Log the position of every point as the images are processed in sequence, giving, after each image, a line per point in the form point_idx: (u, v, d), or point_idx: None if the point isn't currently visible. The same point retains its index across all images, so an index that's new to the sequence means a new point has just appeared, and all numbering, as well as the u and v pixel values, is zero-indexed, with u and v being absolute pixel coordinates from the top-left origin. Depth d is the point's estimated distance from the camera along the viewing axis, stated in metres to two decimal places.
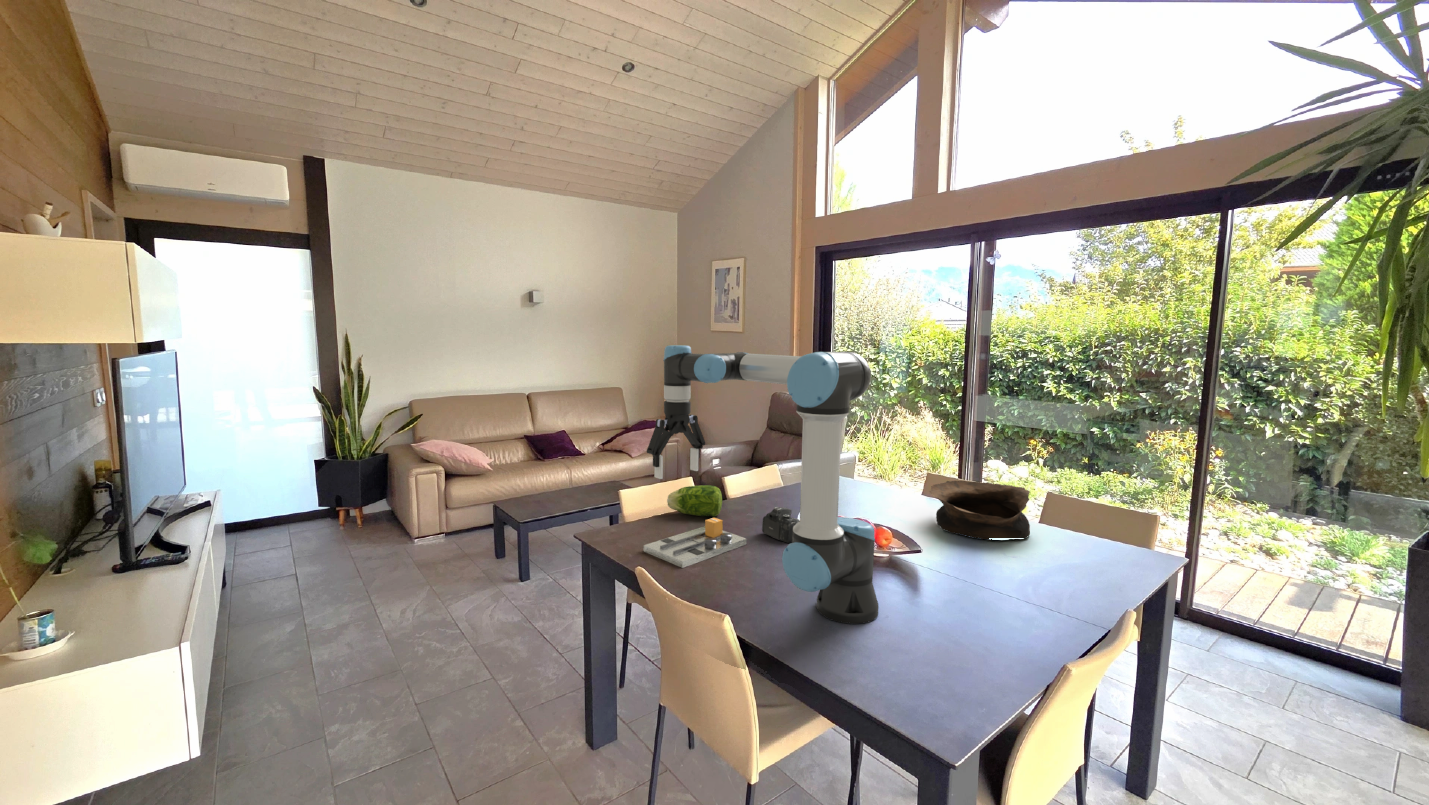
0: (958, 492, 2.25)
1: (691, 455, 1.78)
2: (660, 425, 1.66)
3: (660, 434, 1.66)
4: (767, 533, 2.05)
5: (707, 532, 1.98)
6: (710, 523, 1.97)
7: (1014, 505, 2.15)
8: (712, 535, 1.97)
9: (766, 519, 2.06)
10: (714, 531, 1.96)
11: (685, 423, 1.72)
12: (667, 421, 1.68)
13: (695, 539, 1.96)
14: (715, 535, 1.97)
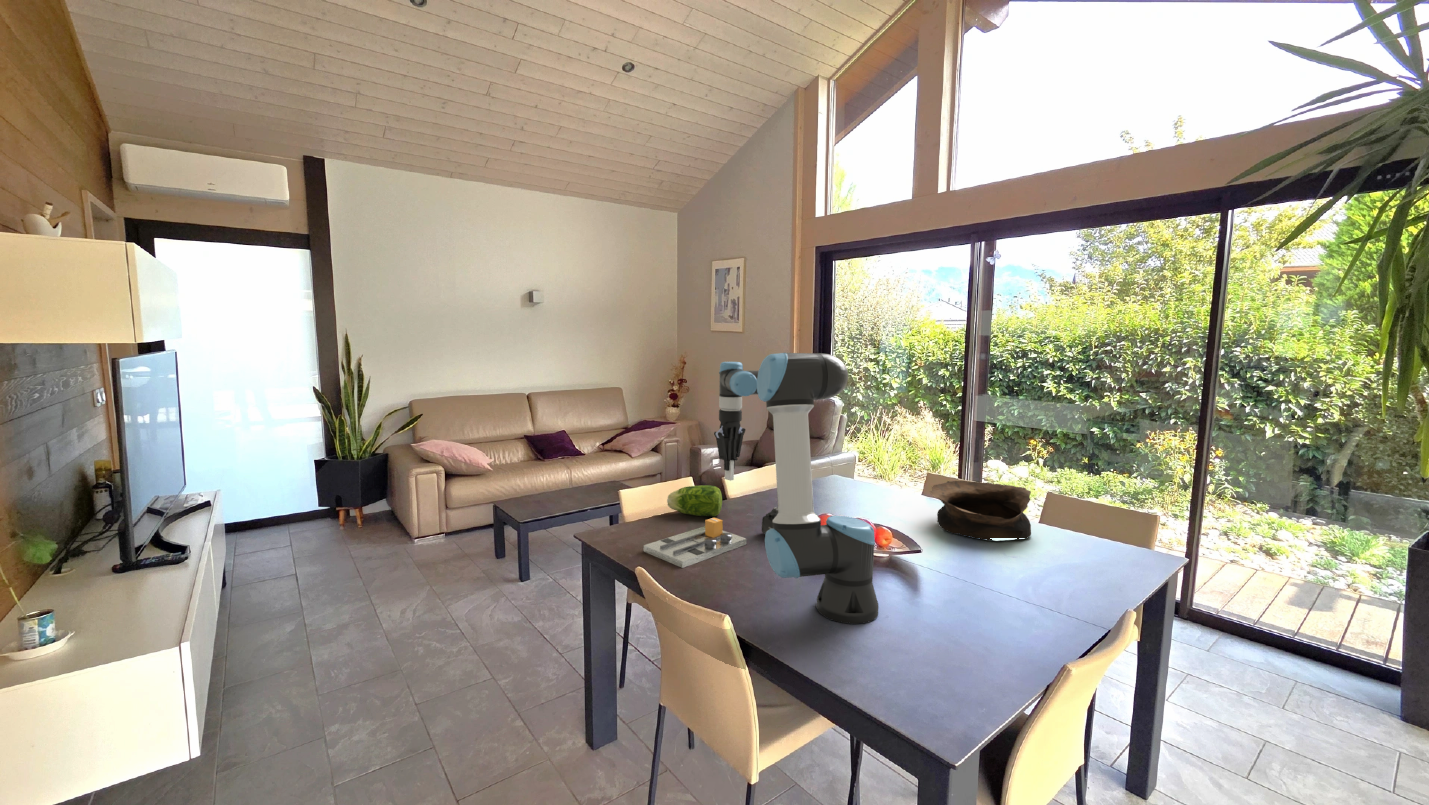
0: (959, 492, 2.25)
1: None
2: (719, 437, 1.95)
3: (723, 443, 1.96)
4: None
5: (707, 532, 1.98)
6: (710, 523, 1.97)
7: (1015, 505, 2.14)
8: (712, 535, 1.97)
9: (765, 519, 2.06)
10: (714, 531, 1.96)
11: (737, 429, 1.99)
12: (722, 429, 1.96)
13: (695, 539, 1.96)
14: (715, 535, 1.97)
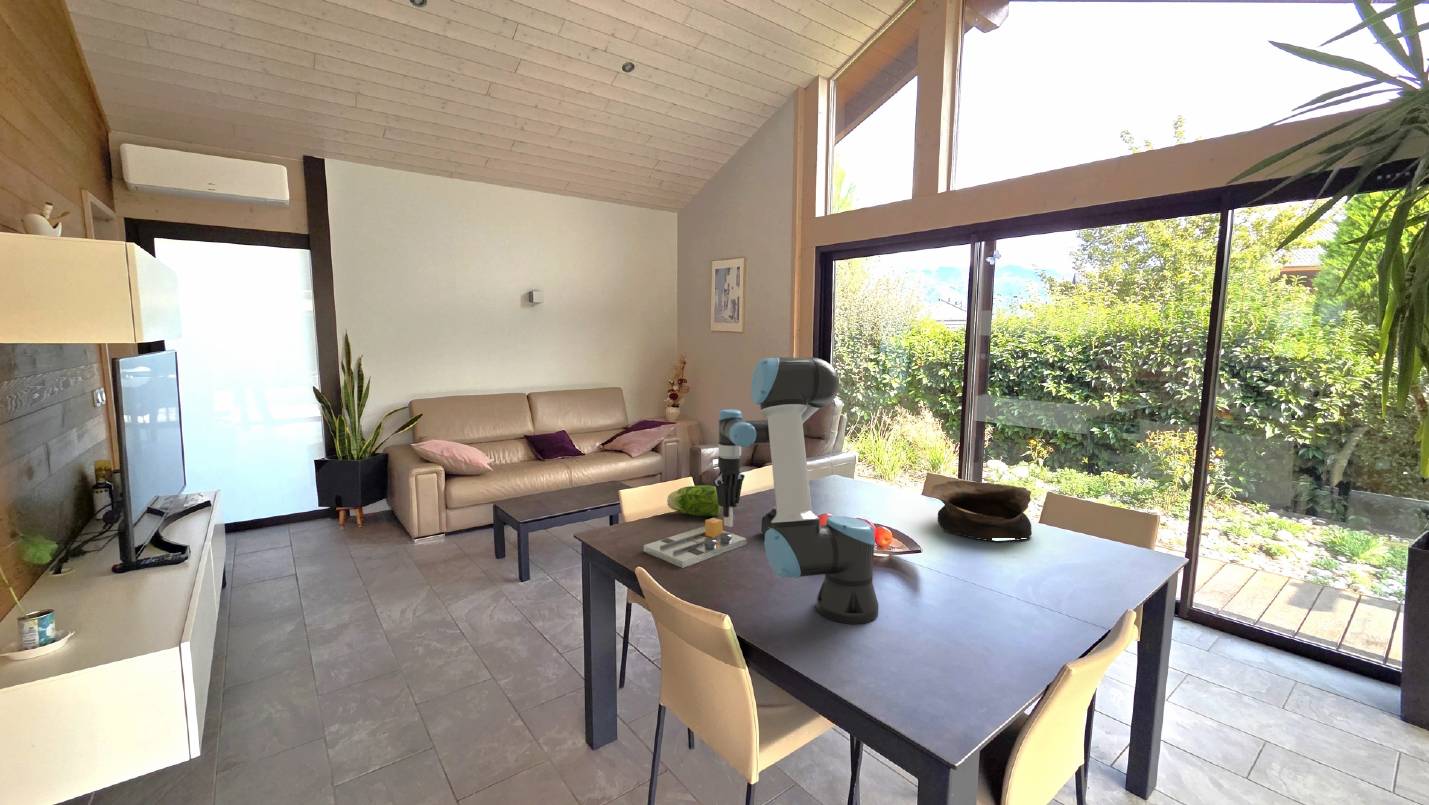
0: (959, 492, 2.24)
1: None
2: (719, 485, 1.97)
3: (722, 491, 1.98)
4: None
5: (707, 532, 1.98)
6: (710, 523, 1.97)
7: (1015, 505, 2.14)
8: (712, 535, 1.97)
9: (765, 519, 2.06)
10: (714, 531, 1.96)
11: (736, 476, 2.01)
12: (722, 477, 1.98)
13: (695, 539, 1.96)
14: (715, 535, 1.97)
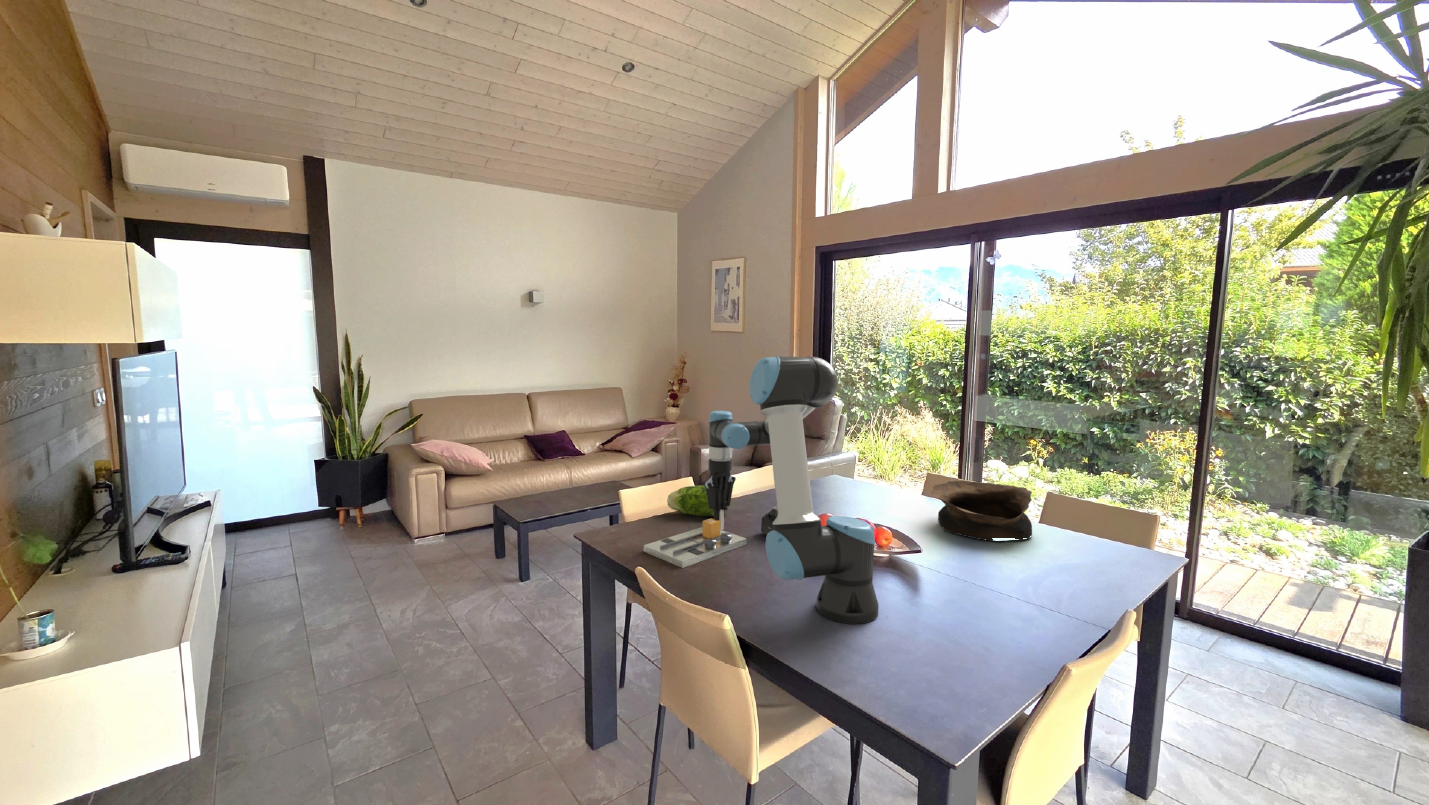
0: (960, 492, 2.24)
1: None
2: (709, 488, 1.94)
3: (713, 493, 1.95)
4: (766, 533, 2.05)
5: (704, 533, 1.97)
6: (707, 524, 1.96)
7: (1016, 505, 2.14)
8: (709, 536, 1.96)
9: (765, 519, 2.06)
10: (711, 532, 1.95)
11: (727, 478, 1.98)
12: (712, 480, 1.95)
13: (695, 539, 1.96)
14: (712, 536, 1.96)
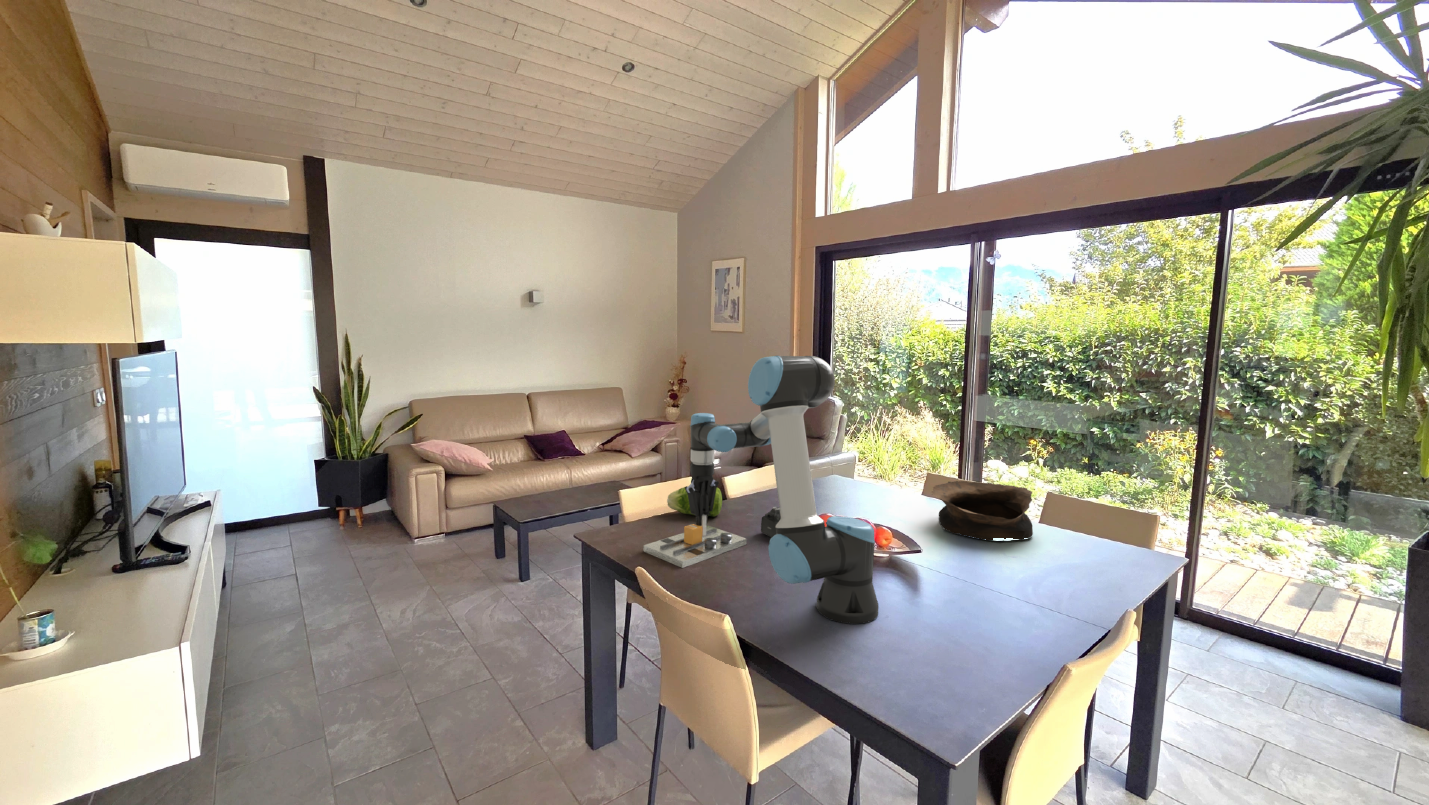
0: (960, 492, 2.24)
1: None
2: (690, 492, 1.88)
3: (694, 498, 1.89)
4: (765, 533, 2.05)
5: (686, 539, 1.92)
6: (689, 530, 1.90)
7: (1016, 505, 2.14)
8: (691, 542, 1.90)
9: (765, 519, 2.06)
10: (693, 538, 1.89)
11: (709, 483, 1.92)
12: (694, 484, 1.89)
13: None
14: (694, 542, 1.90)
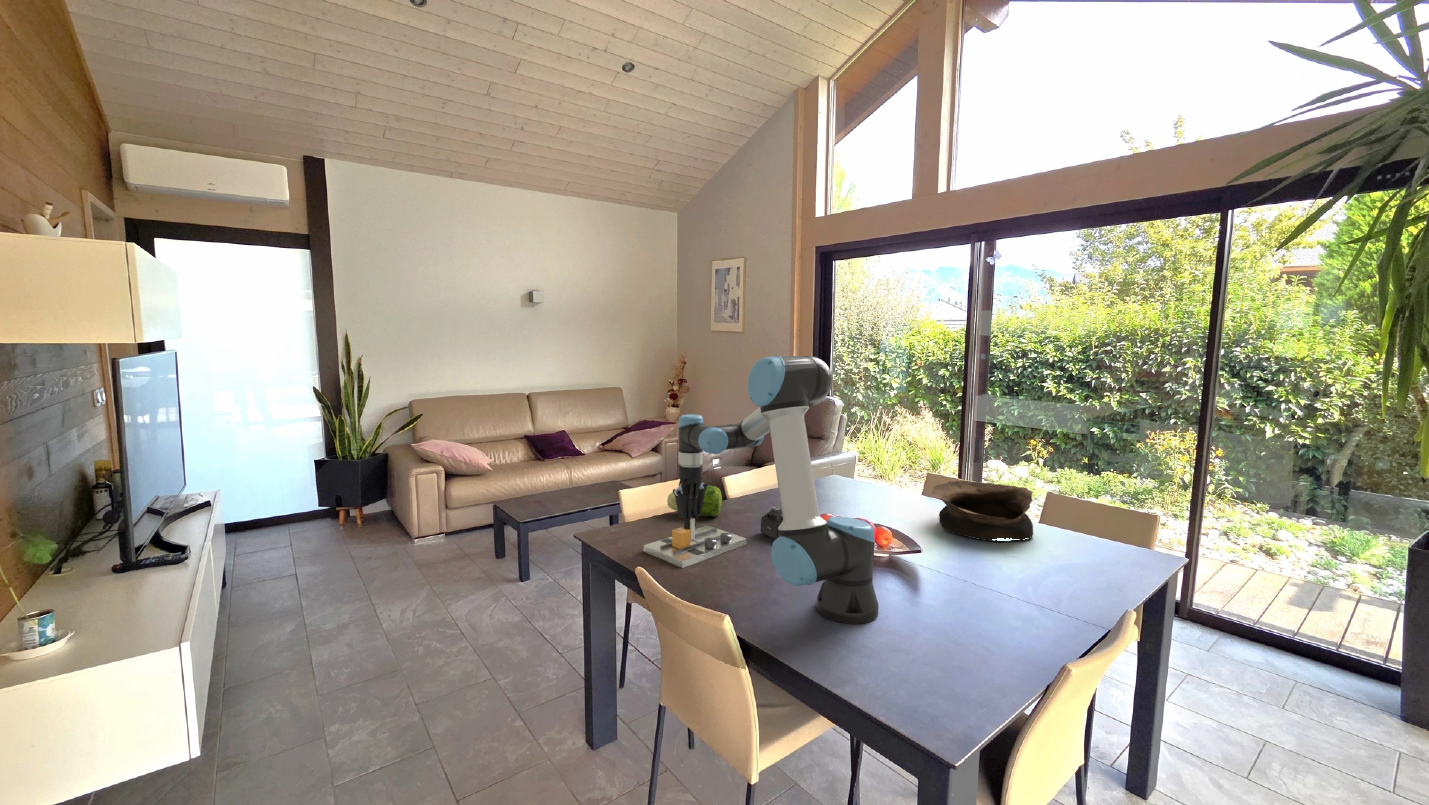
0: (961, 492, 2.24)
1: None
2: (678, 495, 1.85)
3: (682, 501, 1.86)
4: (765, 533, 2.05)
5: (674, 542, 1.88)
6: (677, 533, 1.87)
7: (1017, 505, 2.14)
8: (679, 546, 1.86)
9: (764, 519, 2.06)
10: (681, 542, 1.86)
11: (697, 485, 1.89)
12: (682, 487, 1.86)
13: (695, 539, 1.96)
14: (682, 546, 1.86)
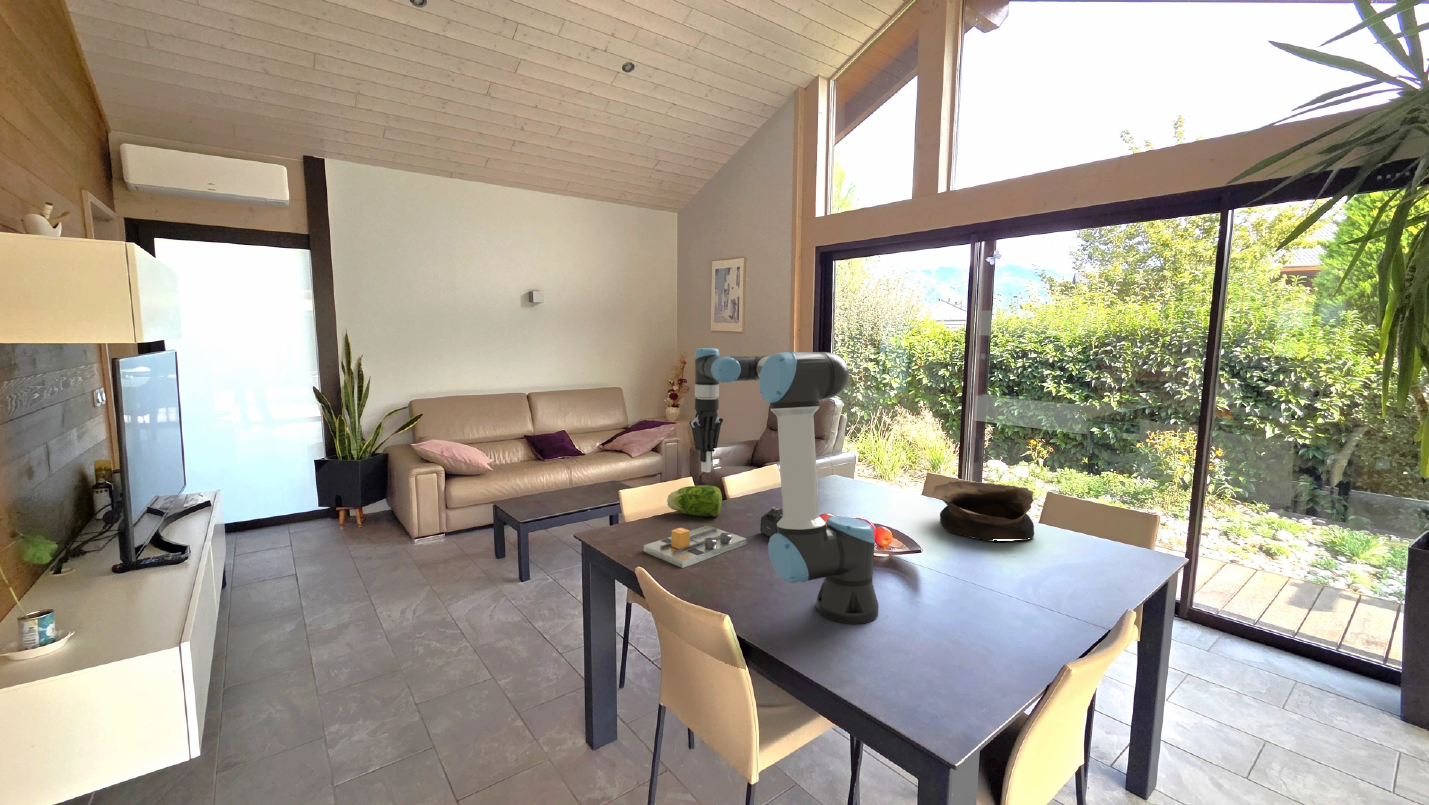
0: (961, 493, 2.24)
1: None
2: (695, 427, 1.87)
3: (699, 433, 1.88)
4: (765, 533, 2.05)
5: (673, 543, 1.88)
6: (676, 534, 1.86)
7: (1017, 505, 2.14)
8: (678, 546, 1.86)
9: (764, 519, 2.06)
10: (680, 542, 1.86)
11: (713, 418, 1.91)
12: (698, 419, 1.88)
13: (695, 539, 1.96)
14: (681, 546, 1.86)
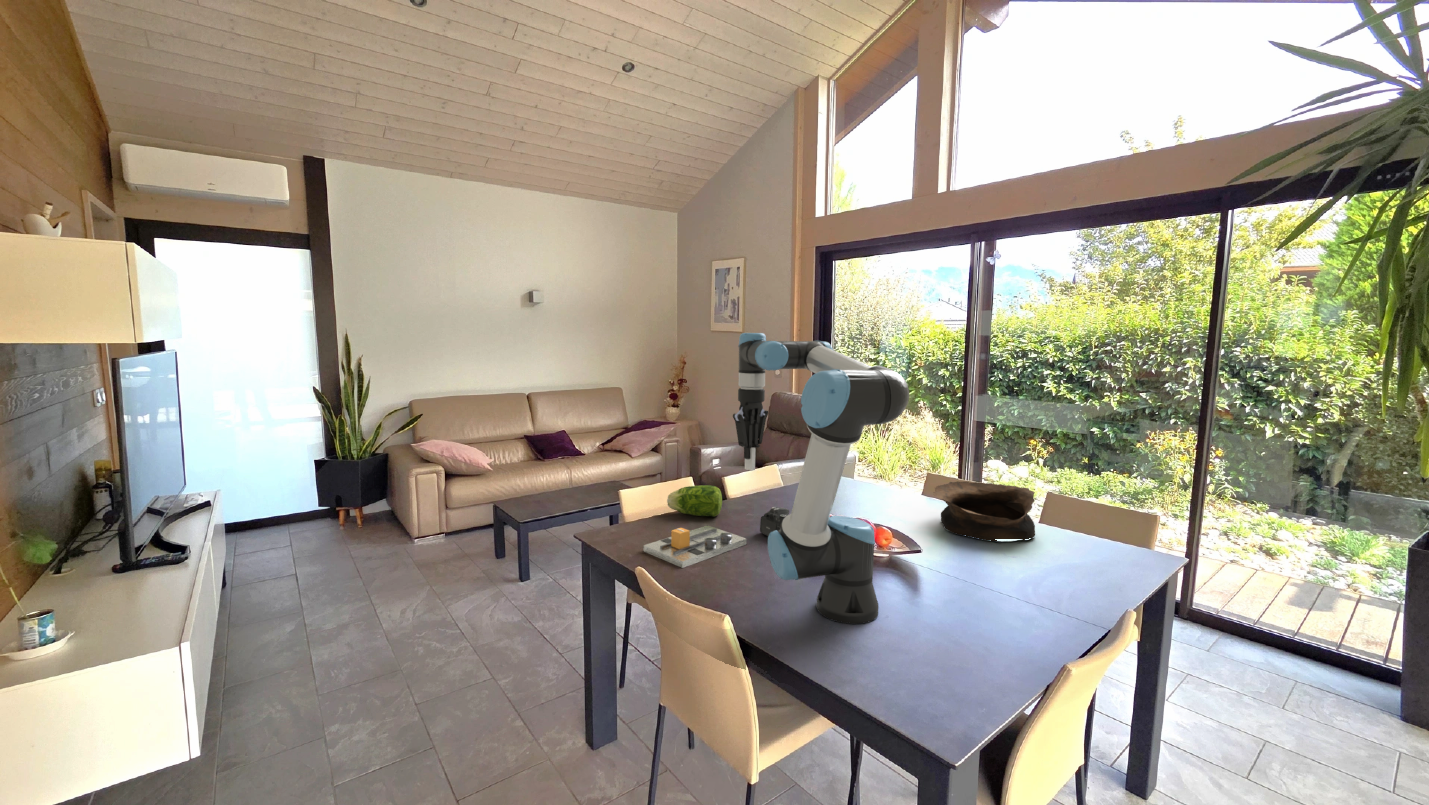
0: (962, 493, 2.24)
1: None
2: (739, 420, 1.68)
3: (743, 427, 1.69)
4: (764, 533, 2.05)
5: (673, 543, 1.88)
6: (676, 534, 1.86)
7: (1018, 505, 2.14)
8: (678, 546, 1.86)
9: (763, 519, 2.06)
10: (680, 542, 1.86)
11: (759, 411, 1.72)
12: (743, 411, 1.69)
13: (695, 539, 1.96)
14: (681, 546, 1.86)
